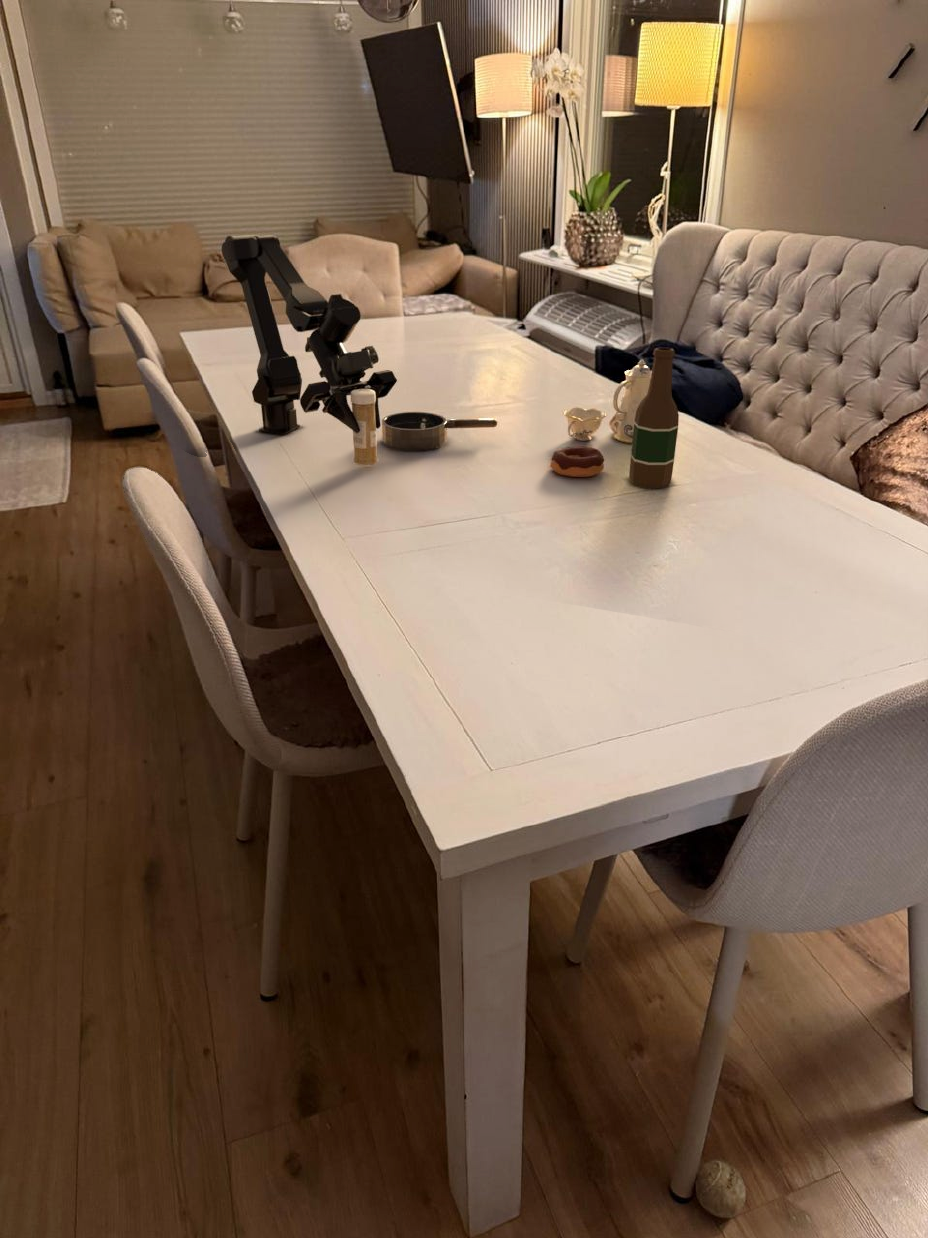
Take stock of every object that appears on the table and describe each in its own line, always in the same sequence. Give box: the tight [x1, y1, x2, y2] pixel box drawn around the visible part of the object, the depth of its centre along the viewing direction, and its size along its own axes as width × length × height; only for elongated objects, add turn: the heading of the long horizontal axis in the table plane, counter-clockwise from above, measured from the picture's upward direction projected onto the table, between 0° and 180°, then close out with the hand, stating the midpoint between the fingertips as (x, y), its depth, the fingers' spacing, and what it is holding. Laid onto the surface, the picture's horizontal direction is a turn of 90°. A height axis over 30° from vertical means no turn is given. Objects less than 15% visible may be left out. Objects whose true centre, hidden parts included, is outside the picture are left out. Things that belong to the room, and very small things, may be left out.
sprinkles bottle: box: [350, 389, 379, 466], centre depth 167 cm, size 5×5×14 cm
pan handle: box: [446, 418, 498, 429], centre depth 185 cm, size 11×2×2 cm, turn 96°
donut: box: [549, 446, 605, 478], centre depth 169 cm, size 10×10×4 cm
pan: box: [381, 411, 448, 452], centre depth 184 cm, size 13×13×4 cm
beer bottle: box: [628, 346, 680, 489], centre depth 159 cm, size 8×8×24 cm
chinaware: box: [562, 358, 652, 444], centre depth 187 cm, size 28×17×17 cm, turn 135°
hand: (368, 429), depth 166 cm, fingers closed on sprinkles bottle, 4 cm apart
